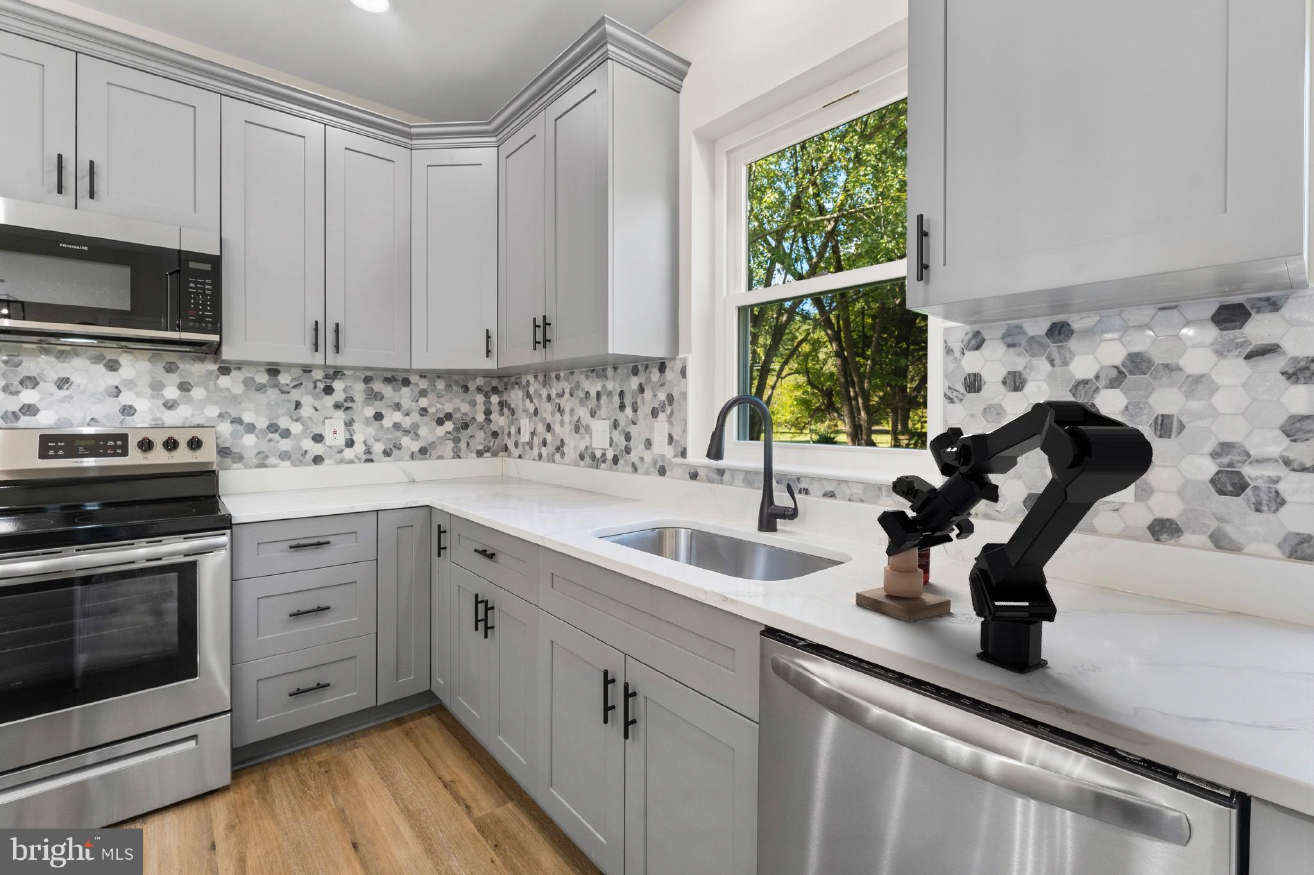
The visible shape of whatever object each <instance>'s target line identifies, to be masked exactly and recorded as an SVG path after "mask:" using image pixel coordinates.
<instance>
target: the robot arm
mask: <svg viewBox="0 0 1314 875" xmlns="http://www.w3.org/2000/svg"><path fill="white" fill-rule="evenodd" d="M928 447H929V451H930V453H931V455H932V458H933V459H934V461H935V464H936V467H937V468H938V470H939V473H940V475H941V476H944V477H945V478H947V479H946V480H945V481H944V482H943V483H942V484H941V485H940V486H939V487H938V488H937V487H936V486H935V485H934V484H932V483H930V482H928V481H927V480H925V479H924V478H922V477H920V476H919V475H914V474H907V475H900V476H899V477H897V478H896V479H895V480H894V481H892V483H891V484H892V487H891V489H892V490H891V491H892V493H894V494H895V495H897V496H898V497H900V498H903V499H904V500H906V501H907V502H909V503H911V504H910V505H909V507H908V508H909V509H910V510H911V512H912V513H915V515H911V516H909V515H908V513H907V512H906V511H905V510H903V509H888V510H883V512H881V513H880V514H879V515H878V516H877V520H876V521H877V522H878V524H879V525H880V527H881V528H882V530H883V531H884V532H885V534H886V535H887V538H888V537H889V538H890V542H889V544H888V543H887V547H886V549H885V554H886V555H887V558H888V557H891V556H894V555H897V554H900V553H903V552H906V551H909V550H912V549H915V548H918V551H921V550H924V549H927V548H930V549H931V548H934V547H939V546H941V545H946V544H950V543H952V542H954V538H953V537H952V535H951V534H952V533H954V532H955V531H956V529H957V530H958V533H956V534H955V538H956V540H957V541H960V540H967V539H968V538H969V537H970V536H972V535H973V534H974V533H975V524H974V523H973V522H972V520H971V519H970V517H971V516H973V513H972V512H971V511H972V510H973V509H974V508H976V506H977V505H978V504H980V503H981V502H982V501H983V500H984V501H987V502H990V503H994V504H998V503H999V501H1000V500H999V499H1000V494H999V488H1000V486H999V485H998V484H995V483H993V481H992V480H991V478H990V476H989V475H1006V474H1007V473H1009V472H1010V471H1011V470H1013V469H1014V468H1015V467H1016V466H1018V464H1019V463H1018V458H1020V457H1021V456H1023V455H1026V454H1027V453H1030V452H1032V451H1034V450H1036V449H1038V448H1039V449H1040V451H1041V452H1042V453H1043V454H1044V455H1046V457H1047V462H1048V465H1049V466H1048V467H1049V470H1050V474H1051V479H1050V480H1049V481H1048V483H1047V485H1046V486H1045V487H1044V489H1043V490H1042V491H1041V493H1040V495H1039V496H1038V497H1037V499H1036V500H1035V502H1034V503H1033V505H1032V506H1031V508H1030V509H1029V511H1028V512H1027V513H1026V515H1025V516H1024V518H1023V519H1022V520H1021V522H1020V523H1019V525H1018V526H1017V527H1016V528H1015V531H1013V534H1012V535H1011V536H1010V538H1009V539H1008V541H1007V542H987V543H985V544H984V545H982V547H981V549H980V552H979V554H978V555H977V556H975V557H974V559H973V560H974V561H975V563H974V564H973V565H972V568H971V570H970V572H969V575H968V584H969V591H970V598H971V604H972V608H973V611H974V612H975V616H976V618H977V617H978V618H981V619H983V620H981V621H980V629H979V630H980V638H979V640H980V641H979V649H980V650H981V651H979V652H976V653H975V657H976V658H977V659H981V660H983V661H985V662H989V663H992V664H994V665H996V666H1000V667H1002V668H1005V669H1008V670H1011V671H1012V672H1013V671H1014V672H1017V673H1018V674H1026V673H1028V672H1032V671H1034V670H1036V669H1039V668H1041V667H1044V666H1047V665H1048V664H1049V660H1048V659H1045V658H1042V651H1043V650H1042V648H1043V647H1042V644H1043V622H1048V623H1054V622H1055V619H1056V616H1057V613H1058V609H1057V606H1056V604H1055V602H1054V600H1053V598H1052V596H1051V593H1050V591H1049V589H1048V587H1047V584H1048V581H1047V577H1046V574H1045V571H1044V567H1045V566H1046V564H1047V563H1048V562H1049V561H1050V560H1051V559H1052V558H1053V556H1054V555H1055V554H1056V552H1057V551H1058V550H1059V548H1061V546H1062V545H1063V543H1064V542H1065V541H1066V540H1067V539H1068V537H1069V536H1070V535H1071V534H1072V533H1073V531H1074V530H1075V529H1076V528H1077V526H1078V525H1079V523H1081V521H1082V520H1083V519H1084V518H1085V517H1086V515H1087V514H1088V512H1090V510H1091V509H1092V508H1093V506H1094V505H1095V504H1096V503H1097V502H1098V501H1100V500H1102V499H1104V498H1107V497H1109V496H1112V495H1114V494H1116V493H1119V492H1122V491H1124V490H1126V489H1128V488H1129V487H1130V486H1132V485H1133V484H1134V483H1135V482H1137V481H1138V480H1140V479H1141V478H1142V477H1143V476H1144V475H1145V474H1147V472H1148V470H1149V469H1150V467H1151V465H1152V462H1153V456H1154V451H1153V446H1152V443H1151V442H1150V440H1148V439H1147V438H1146V436H1145V434H1144V433H1143V431H1142V432H1141V430H1140V429H1139V428H1137V427H1134V426H1129V425H1128V424H1127V423H1125V422H1123V421H1121V420H1118V419H1115V418H1112V417H1111V416H1108V415H1105V414H1103V413H1100V412H1098V411H1094V410H1092V409H1091V408H1090V407H1088V406H1087V405H1085V404H1084V403H1082V402H1079V401H1077V400H1062V399H1061V400H1053V399H1052V400H1047V399H1046V400H1045V399H1044V400H1040V401H1039V402H1035V403H1034V404H1033V405H1032V406H1031V408H1030V409H1029V410H1027V411H1025V412H1024V413H1022V414H1020V415H1018V416H1017V417H1014V418H1013V419H1011V420H1009V421H1008V422H1005V423H1003V424H1002V425H1000V426H998V427H997V428H995V429H993V430H992V431H988V432H980V433H978V432H977V433H972V434H967V435H965V434H964V432H963V430H962V428H961V427H957V426H953V427H952V426H951V427H948V428H947V430H946V431H945V432H941V433H940V434H938V435H936V436H935V437H934V438H932V439H931V440H930V442H929V445H928ZM955 528H956V529H955ZM996 603H1021V604H996ZM1022 603H1025V604H1022ZM1027 603H1028V604H1027Z"/></svg>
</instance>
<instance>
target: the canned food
mask: <svg viewBox="0 0 1314 875" xmlns="http://www.w3.org/2000/svg"><path fill="white" fill-rule="evenodd" d="M887 541H888V542H887V545H888V544H889V542H890V538H889V537H888V536H887ZM887 566H889V557H888V556H887ZM918 568H919V569H922V570H923V586H926V585H928V584H929V581H930V578H931V577H930V576H931V575H930V574H931V572H930V571H931V548H927V549H924V550H921V551H918Z"/></svg>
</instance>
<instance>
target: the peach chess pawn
mask: <svg viewBox="0 0 1314 875" xmlns="http://www.w3.org/2000/svg"><path fill="white" fill-rule="evenodd" d="M883 587H884V589H883V590H884V592H886V593H888V594H890V595H894V596H900V597H920V596H922V595H923V592H924V585H923V570H922V569H919V568H918V548H915V549H912V550H909V551H906V552H903V553H900V554H897V555H894V556H891V557H889V566H888V565H886V566H884V567H883Z"/></svg>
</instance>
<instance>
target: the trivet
mask: <svg viewBox="0 0 1314 875" xmlns="http://www.w3.org/2000/svg"><path fill="white" fill-rule="evenodd" d="M883 589H884V586H883V587H878V588H872V589H868V590H862V591H857V592H856V593H855V604H856V605H859V606H861V607H865V608H868V609H870V610H873V611H876V612H880V613H882V614H886V615H888V616H890V617H894V618H895V619H896V618H897V619H899V620H901V621H905V622H908V623H909V622H912V621H913V622H914V621H918V620H921V619H926V618H930V617H934V616H937V615H942V614H945V613H946V614H947V613H950V612H951V609H952V608H951V605H952V603H951V602H952V600H951V599H950V598H946V597H942V596H938V595H936V594H935V595H934V594H932V593H928V592H924V591H923V595H922V596H920V597H900V596H894V595H890V594H888V593H886V592H884V590H883Z"/></svg>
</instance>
